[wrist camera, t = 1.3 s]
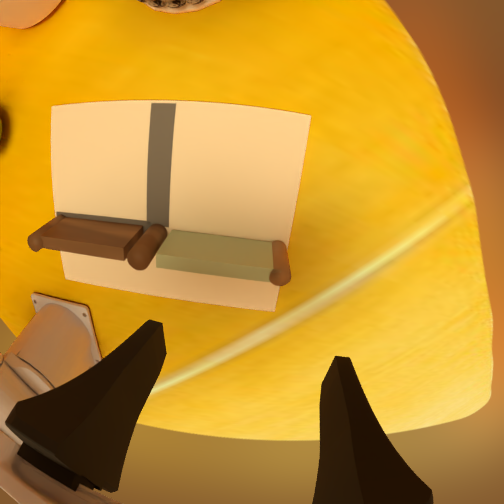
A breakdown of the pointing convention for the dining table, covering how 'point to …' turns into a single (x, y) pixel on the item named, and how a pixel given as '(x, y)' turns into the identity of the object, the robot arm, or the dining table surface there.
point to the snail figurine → (0, 129)
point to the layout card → (178, 185)
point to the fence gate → (225, 257)
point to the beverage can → (25, 12)
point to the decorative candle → (178, 5)
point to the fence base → (100, 239)
